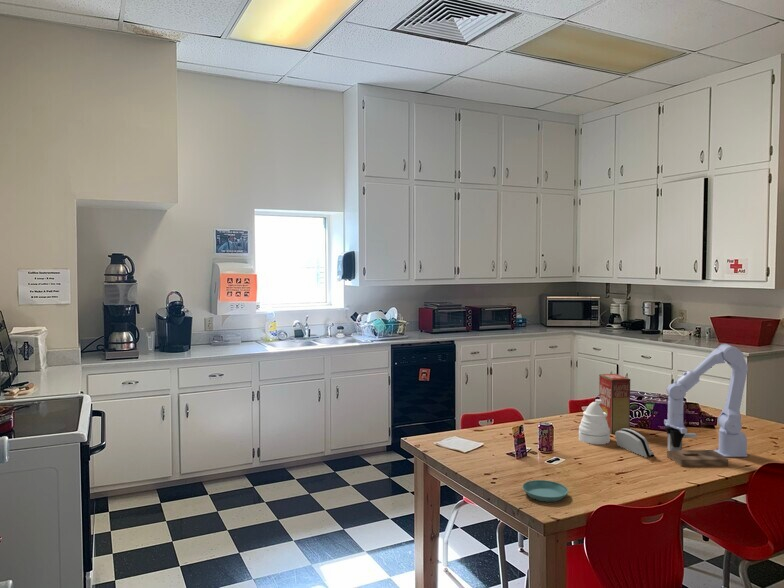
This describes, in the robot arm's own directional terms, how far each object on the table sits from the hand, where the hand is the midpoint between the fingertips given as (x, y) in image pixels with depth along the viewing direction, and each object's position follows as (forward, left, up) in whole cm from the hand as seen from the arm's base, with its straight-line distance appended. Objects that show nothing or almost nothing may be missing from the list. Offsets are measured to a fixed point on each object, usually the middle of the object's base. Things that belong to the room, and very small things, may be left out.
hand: (674, 446), depth 241 cm
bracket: (-3, 0, -2) cm, 4 cm away
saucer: (+67, +44, -2) cm, 80 cm away
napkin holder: (+17, 0, -2) cm, 17 cm away
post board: (-2, +13, -2) cm, 13 cm away
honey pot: (+28, -16, -2) cm, 32 cm away
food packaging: (+13, -31, -2) cm, 33 cm away
